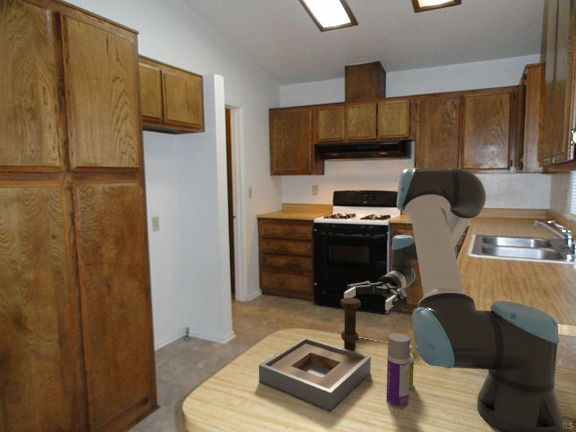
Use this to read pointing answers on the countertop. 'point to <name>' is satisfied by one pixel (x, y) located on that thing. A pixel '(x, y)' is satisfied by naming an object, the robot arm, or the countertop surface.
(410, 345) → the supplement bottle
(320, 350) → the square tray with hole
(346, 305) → the bolt
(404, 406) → the container
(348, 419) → the countertop surface
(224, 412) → the countertop surface
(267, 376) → the open box
